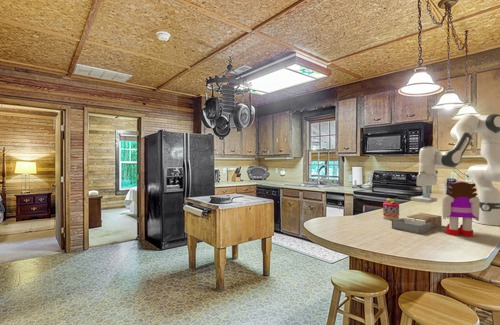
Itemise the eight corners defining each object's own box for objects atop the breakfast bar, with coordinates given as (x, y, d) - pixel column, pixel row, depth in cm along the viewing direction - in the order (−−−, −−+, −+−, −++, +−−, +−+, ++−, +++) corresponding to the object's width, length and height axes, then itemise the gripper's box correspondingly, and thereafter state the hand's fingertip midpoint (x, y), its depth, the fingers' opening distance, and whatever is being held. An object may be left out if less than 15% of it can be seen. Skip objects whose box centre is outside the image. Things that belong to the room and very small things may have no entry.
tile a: (416, 219, 169) (414, 219, 168) (425, 220, 165) (423, 221, 164) (416, 227, 169) (414, 227, 168) (425, 228, 165) (423, 229, 164)
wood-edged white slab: (421, 221, 187) (421, 213, 187) (441, 225, 177) (441, 216, 177) (406, 225, 175) (406, 216, 175) (427, 229, 165) (427, 219, 165)
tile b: (406, 217, 174) (404, 217, 173) (414, 218, 170) (412, 219, 169) (406, 225, 174) (404, 225, 173) (414, 226, 170) (412, 227, 169)
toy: (474, 233, 157) (474, 181, 157) (482, 237, 149) (483, 182, 148) (438, 231, 162) (438, 180, 162) (444, 235, 153) (444, 181, 153)
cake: (382, 219, 195) (382, 198, 195) (383, 216, 204) (383, 196, 204) (399, 220, 189) (399, 199, 189) (399, 218, 199) (399, 197, 199)
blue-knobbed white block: (418, 199, 183) (418, 185, 183) (437, 201, 174) (437, 187, 174) (410, 200, 177) (410, 186, 177) (429, 202, 168) (429, 188, 168)
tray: (403, 225, 177) (403, 217, 177) (430, 230, 164) (431, 222, 164) (391, 228, 169) (391, 220, 169) (419, 233, 156) (419, 225, 156)
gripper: (424, 171, 169) (424, 194, 169) (439, 171, 181) (438, 192, 181) (413, 171, 174) (413, 193, 174) (428, 170, 186) (428, 191, 186)
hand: (426, 192), depth 178 cm, fingers closed on blue-knobbed white block, 3 cm apart
